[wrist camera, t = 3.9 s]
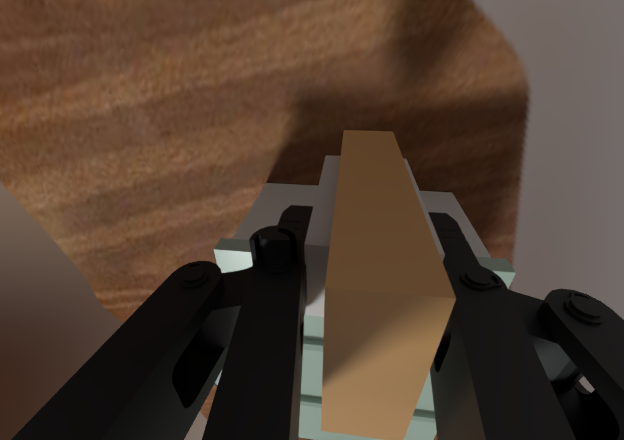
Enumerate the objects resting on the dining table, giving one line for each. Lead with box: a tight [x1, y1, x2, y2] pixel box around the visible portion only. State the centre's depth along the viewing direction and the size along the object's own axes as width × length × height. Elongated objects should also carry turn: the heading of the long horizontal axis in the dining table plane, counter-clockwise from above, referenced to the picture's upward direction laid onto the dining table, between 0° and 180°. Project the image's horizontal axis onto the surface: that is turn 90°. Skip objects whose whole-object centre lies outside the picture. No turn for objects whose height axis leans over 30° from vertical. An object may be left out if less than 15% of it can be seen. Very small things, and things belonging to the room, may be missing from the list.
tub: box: [233, 183, 491, 258], centre depth 24 cm, size 20×14×8 cm
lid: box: [214, 130, 516, 440], centre depth 16 cm, size 27×15×10 cm, turn 0°
